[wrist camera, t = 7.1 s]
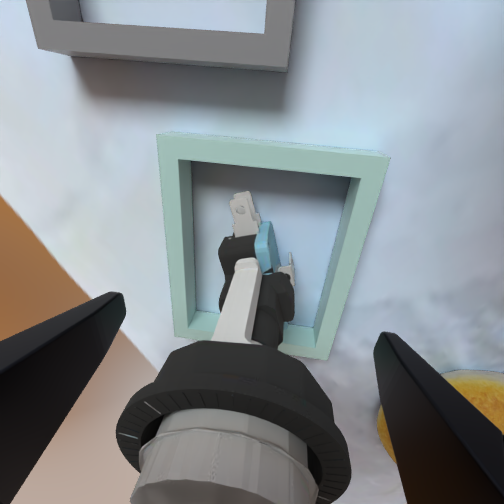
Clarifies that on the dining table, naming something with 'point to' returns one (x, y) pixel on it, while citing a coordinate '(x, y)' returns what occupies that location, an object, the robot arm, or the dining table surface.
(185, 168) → the mint green frame
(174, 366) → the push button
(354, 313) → the dining table surface
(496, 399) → the bread roll
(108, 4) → the dining table surface
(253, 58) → the grey rectangular frame
